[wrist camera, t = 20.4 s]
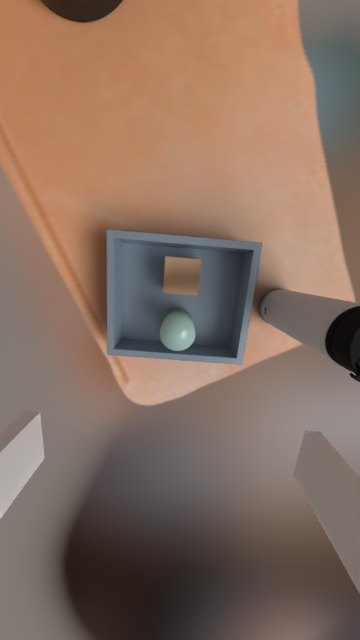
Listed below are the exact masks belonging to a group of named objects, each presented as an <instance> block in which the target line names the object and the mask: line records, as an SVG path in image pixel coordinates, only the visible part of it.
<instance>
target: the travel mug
mask: <svg viewBox="0 0 360 640" xmlns="http://www.w3.org/2000/svg"><path fill="white" fill-rule="evenodd" d="M259 310H260V315H261V317H262V318H263V319H264V321H266V322H267V323H269V324H271V325H272V326H274V327H276V328H277V329H279V330H281V331H282V332H284V333H286V334H287V335H289V336H291V337H292V338H294V339H296V340H297V341H299V342H301V343H302V344H304V345H306V346H308V347H309V348H311V349H313V350H315V351H316V352H318V353H319V354H321V355H323V356H324V357H326V358H328V359H329V360H331V361H333V362H334V363H336V364H338V365H341V366H343V367H344V368H346V369H348V370H350V371H352V372H354V373H355V374H356V376H355V375H353V374H352V373H350V376H351V377H352V378H354V379H355V380H357V381H359V382H360V303H354V302H349V301H343V300H338V299H332V298H327V297H322V296H316V295H311V294H305V293H300V292H294V291H289V290H283V289H276V290H273V291H270V292H269V293H267V294H266V295H265V296H264V297H263V299H262V300H261V303H260V307H259Z"/></svg>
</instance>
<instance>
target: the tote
mask: <svg viewBox="0 0 360 640" xmlns="http://www.w3.org/2000/svg"><path fill="white" fill-rule="evenodd" d="M261 249H262V243H259V242H247V241H236V240H224V239H212V238H201V237H189V236H177V235H166V234H154V233H142V232H131V231H119V230H107V355H118V356H131V357H144V358H158V359H171V360H184V361H197V362H211V363H224V364H237V365H242V363H243V357H244V351H245V345H246V339H247V333H248V327H249V321H250V315H251V309H252V303H253V297H254V291H255V285H256V279H257V273H258V267H259V261H260V255H261ZM165 256H167V257H179V258H191V259H202V260H201V270H200V280H199V289H198V296H196V295H184V294H172V293H163V286H164V270H165ZM173 308H183V309H185V310H187V311H188V312H189V313H190V315H191V316H192V320H193V324H194V328H195V339H194V342H193V343H192V344H191V346H190V347H188V348H187V349H185V350H181V351H174V350H171V349H169V348H167V347H166V346H165V345H164V344H163V343H162V341H161V338H160V329H161V326H162V323H163V320H164V317H165V315H166V313H167V312H168V311H169V310H171V309H173Z"/></svg>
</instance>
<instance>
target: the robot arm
mask: <svg viewBox="0 0 360 640" xmlns="http://www.w3.org/2000/svg"><path fill="white" fill-rule="evenodd" d="M42 1H43V2H44V3H45V4H46V5H47V6H48V7H49V8H50V9H51V10H53V11H54V12H56V13H57V14H59V15H61V16H62V17H65V18H67V19H70V20H74V21H81V22H86V21H93V20H97V19H100V18H102V17H104V16H106V15H108V14H109V13H110V12H112V11H113V10H114V9H115V8H116V7H117V6H118V5H119V4H120V3H121V2H122V0H42ZM43 459H44V450H43V440H42V428H41V418H40V412H27V411H24V412H23V413H22V414H21V415H19V416H18V417H17V418H16V419H15V420H14V421H13V422H12V423H11V424H9V425H8V426H7V427H6V428H5V429H4V430H3V431H2V432H1V433H0V518H1V517H2V515H3V514H4V513H5V512H6V510H7V509H8V507H9V506H10V505H11V503H12V502H13V501H14V499H15V498H16V496H17V495H18V493H19V492H20V491H21V490H22V488H23V487H24V485H25V484H26V483H27V481H28V480H29V478H30V477H31V476H32V474H33V473H34V471H35V470H36V469H37V467H38V466H39V465H40V463H41V462H42V461H43ZM294 476H295V478H296V480H297V482H298V483H299V485H300V487H301V489H302V491H303V492H304V494H305V496H306V497H307V500H308V501H309V503H310V505H311V507H312V509H313V510H314V512H315V514H316V516H317V518H318V519H319V521H320V523H321V525H322V526H323V528H324V530H325V532H326V534H327V536H328V537H329V539H330V541H331V543H332V545H333V546H334V548H335V550H336V552H337V553H338V555H339V557H340V559H341V561H342V563H343V564H344V566H345V568H346V569H347V572H348V573H349V575H350V577H351V579H352V581H353V582H354V584H355V586H356V588H357V590H358V591H359V593H360V477H359V476H358V475H357V474H356V472H355V471H354V470H353V469H352V468H351V467H350V466H349V464H348V463H347V462H346V461H345V460H344V459H343V457H342V456H341V455H340V454H339V453H338V452H337V451H336V449H335V448H334V447H333V446H332V445H331V444H330V443H329V442H328V440H327V439H326V438H325V437H324V436H323V434H322V433H321V432H314V431H305V434H304V437H303V441H302V445H301V448H300V452H299V456H298V460H297V463H296V467H295V471H294Z"/></svg>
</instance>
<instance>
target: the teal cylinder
mask: <svg viewBox="0 0 360 640" xmlns="http://www.w3.org/2000/svg"><path fill="white" fill-rule="evenodd" d="M160 338H161V341H162V343H163V344H164V345H165V346H166V347H167V348H169V349H171V350H174V351H181V350H185V349H187V348H188V347H190V346H191V344H192V343H193V342H194V339H195V328H194V324H193V320H192V316H191V315H190V313H189V312H188V311H187V310H185V309H183V308H173V309H171V310H169V311H168V312H167V313H166V315H165V317H164V320H163V323H162V326H161V329H160Z"/></svg>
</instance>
